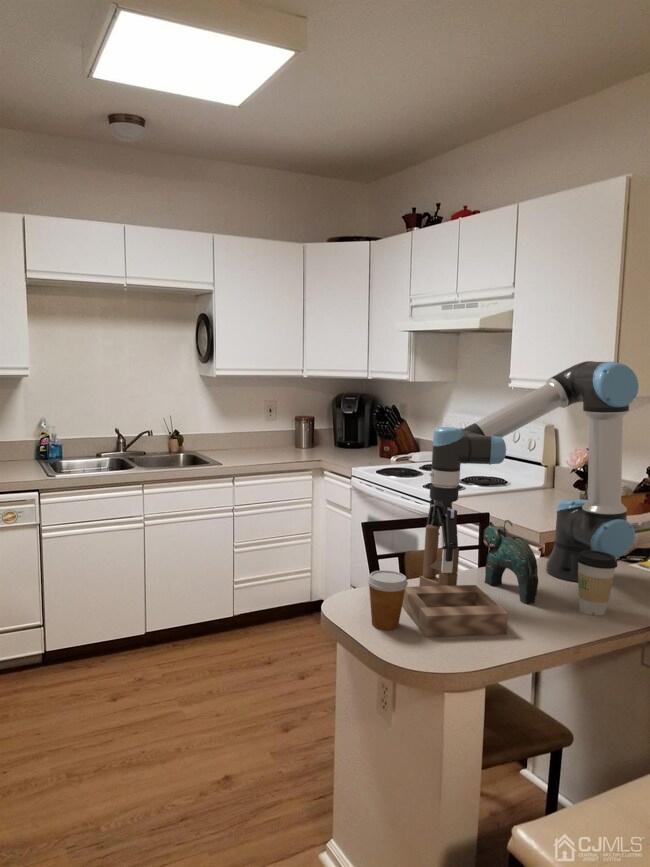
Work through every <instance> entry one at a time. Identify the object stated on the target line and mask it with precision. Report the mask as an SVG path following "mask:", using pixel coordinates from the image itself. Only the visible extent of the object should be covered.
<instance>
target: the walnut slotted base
mask: <svg viewBox="0 0 650 867" xmlns="http://www.w3.org/2000/svg"><path fill="white" fill-rule="evenodd" d="M402 608H403V610H404V611H405V612H406V613H407V615H408V616H409V618H410V619H411V621H413V622H414V624H415V625H416V627H417V628H418V629H419V630H420V632H421V633H422V634H423V636H424V637H425V638H432V637H433V638H435V637H436V638H437V637H455V636H456V637H458V636H459V637H460V636H461V637H462V636H487V635H507V632H508V623H509V622H508V619H509V612H507V611H506V610H505V609H504V608H502V607H501V606H500V605H499V604H498V603H497V602H496V601H495V600H493V599H492V598H491V597H490V596H489V594H487V593H486V592H485V591H484V590H482V589H481V588H480V587H479V586H478V585H476V584H467V585H465V584H461V585H459V584H457V585H454V586H418V585H417V586H413V585H412V586H407V587H406V588H405V593H404V599H403V604H402Z"/></svg>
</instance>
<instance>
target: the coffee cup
mask: <svg viewBox="0 0 650 867" xmlns="http://www.w3.org/2000/svg"><path fill="white" fill-rule="evenodd" d="M577 561H578V569H579V570H578V585H577V587H578V588H577V589H578V597H579V598H578V601H579V602H578V603H579V604H578V607H579V611H580V612H582V613H583V614H587V615H590V616H594V617H595V616H596V617H599V616H604V615H605V614H606V611H607V606H608V603H609V600H610V595H611V591H612V588H613V584H614V578H615V571H616V568H617V567H618V566H619V565H618V561H617V558H615V557H614V556H613V555H611V554H608V553H605V552H601V551H592V550H586V551H581V552H580V554H579V556H578V557H577Z"/></svg>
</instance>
